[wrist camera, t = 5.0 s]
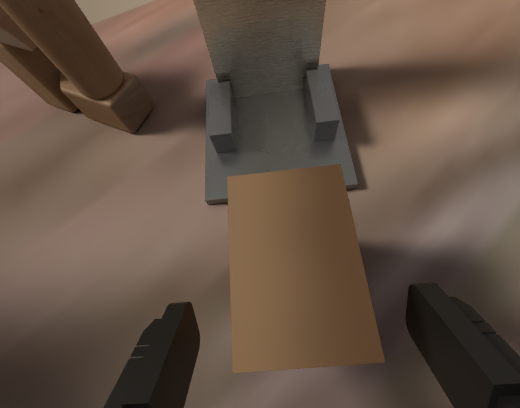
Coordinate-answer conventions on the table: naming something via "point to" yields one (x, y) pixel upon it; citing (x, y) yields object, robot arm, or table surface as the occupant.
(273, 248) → the brown rectangular block
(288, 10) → the grey stand
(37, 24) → the wooden rod assembly
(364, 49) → the table surface
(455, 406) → the robot arm
